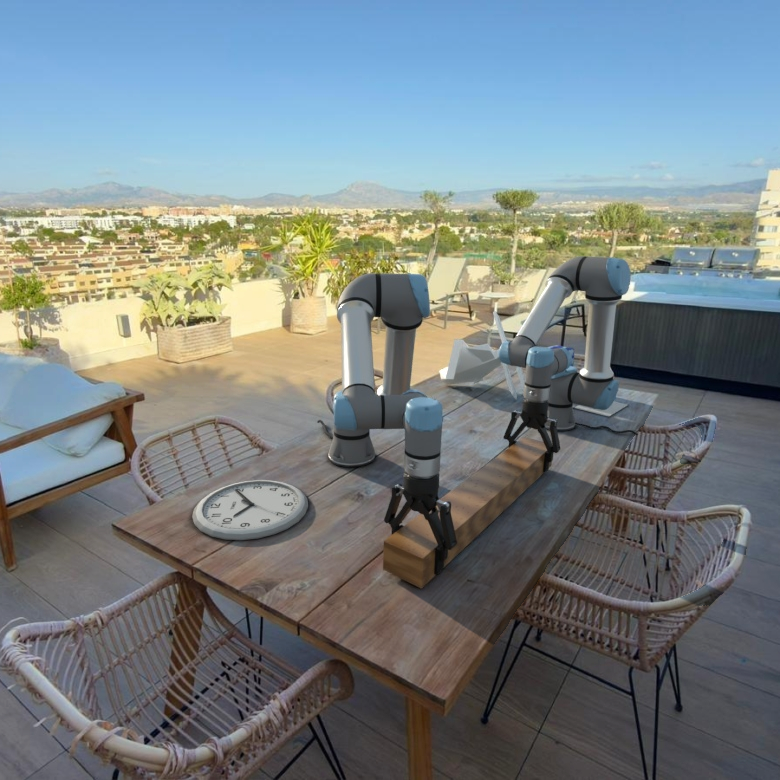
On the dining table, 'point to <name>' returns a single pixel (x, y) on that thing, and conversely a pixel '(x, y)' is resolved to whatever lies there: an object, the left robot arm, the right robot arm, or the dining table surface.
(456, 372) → the white plastic object
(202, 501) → the wall clock
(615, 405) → the invitation card
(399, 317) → the left robot arm
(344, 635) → the dining table surface
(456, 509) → the wide beam
